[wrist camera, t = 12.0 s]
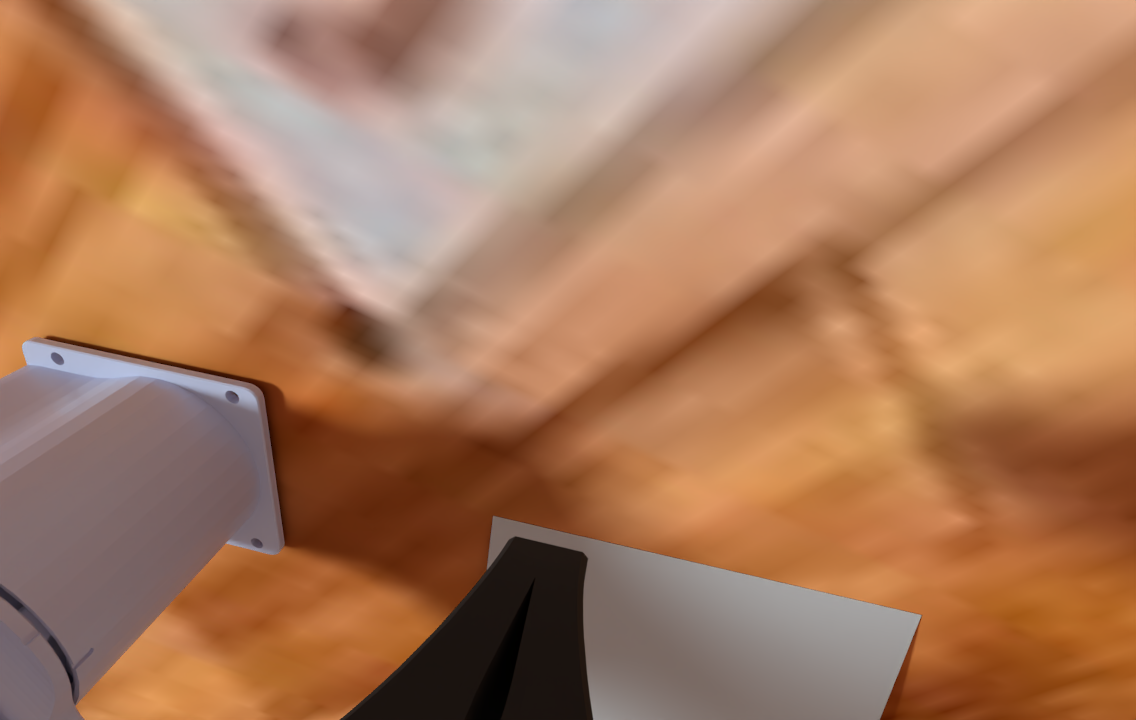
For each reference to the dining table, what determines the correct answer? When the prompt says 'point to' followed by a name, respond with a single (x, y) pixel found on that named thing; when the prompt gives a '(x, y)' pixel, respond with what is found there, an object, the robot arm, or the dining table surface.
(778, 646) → the dock
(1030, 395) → the dining table surface
